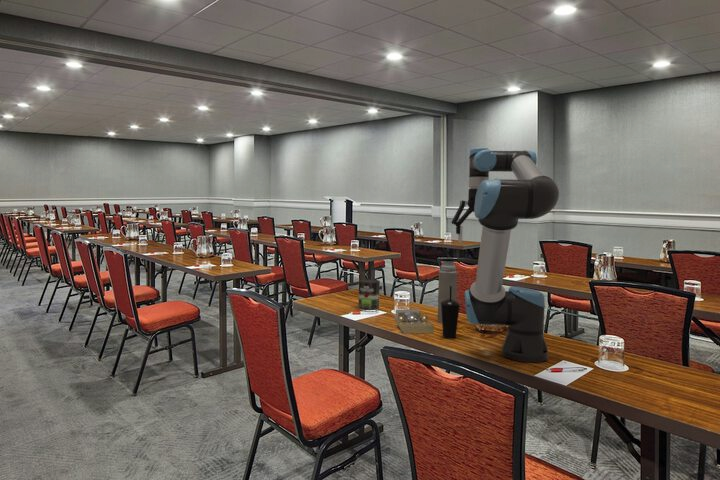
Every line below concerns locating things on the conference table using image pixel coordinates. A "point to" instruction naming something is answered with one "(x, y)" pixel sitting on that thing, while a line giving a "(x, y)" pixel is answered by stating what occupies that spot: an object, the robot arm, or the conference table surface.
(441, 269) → the thermos bottle
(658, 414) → the conference table surface
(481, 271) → the robot arm
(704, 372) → the conference table surface
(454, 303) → the drinking cup
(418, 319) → the grey mechanical part
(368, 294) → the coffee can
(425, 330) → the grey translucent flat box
